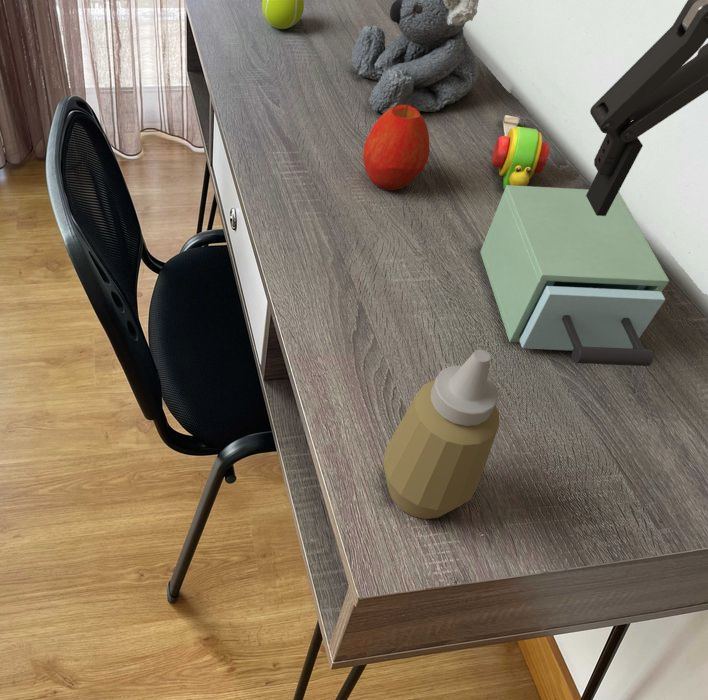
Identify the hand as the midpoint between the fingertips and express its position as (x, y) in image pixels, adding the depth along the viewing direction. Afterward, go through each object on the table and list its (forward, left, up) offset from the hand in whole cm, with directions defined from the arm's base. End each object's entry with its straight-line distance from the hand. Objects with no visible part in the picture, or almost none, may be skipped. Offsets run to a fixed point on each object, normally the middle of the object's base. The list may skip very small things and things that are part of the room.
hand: (674, 210), depth 61 cm
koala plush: (+56, -6, -21) cm, 60 cm away
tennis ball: (+79, +9, -21) cm, 83 cm away
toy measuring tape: (+37, -12, -21) cm, 43 cm away
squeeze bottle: (-10, +22, -21) cm, 32 cm away
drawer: (+6, -1, -19) cm, 20 cm away
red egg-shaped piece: (+34, +7, -21) cm, 41 cm away
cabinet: (+10, -3, -20) cm, 23 cm away
